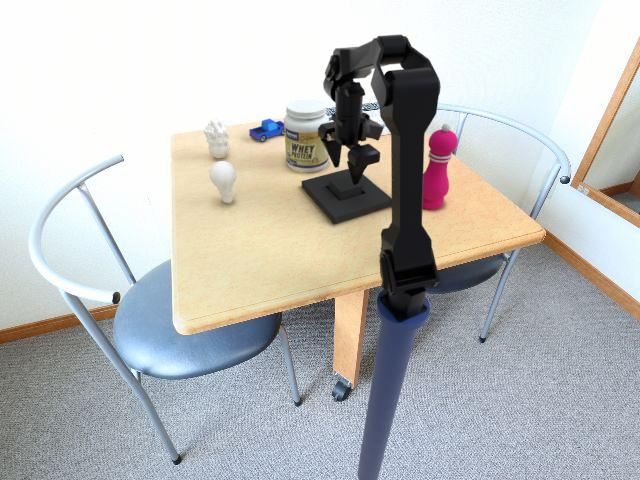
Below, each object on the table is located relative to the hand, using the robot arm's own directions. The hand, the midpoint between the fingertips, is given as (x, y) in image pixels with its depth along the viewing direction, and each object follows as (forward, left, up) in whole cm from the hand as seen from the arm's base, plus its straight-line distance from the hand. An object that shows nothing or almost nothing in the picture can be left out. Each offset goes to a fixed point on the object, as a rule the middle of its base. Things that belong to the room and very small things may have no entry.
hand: (345, 175), depth 89 cm
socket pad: (0, 0, -6) cm, 6 cm away
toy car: (+43, +4, -6) cm, 43 cm away
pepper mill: (-12, -17, -6) cm, 22 cm away
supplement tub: (+20, +1, -6) cm, 21 cm away
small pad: (0, 0, -6) cm, 6 cm away
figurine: (+36, +22, -6) cm, 42 cm away
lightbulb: (+11, +27, -6) cm, 30 cm away
